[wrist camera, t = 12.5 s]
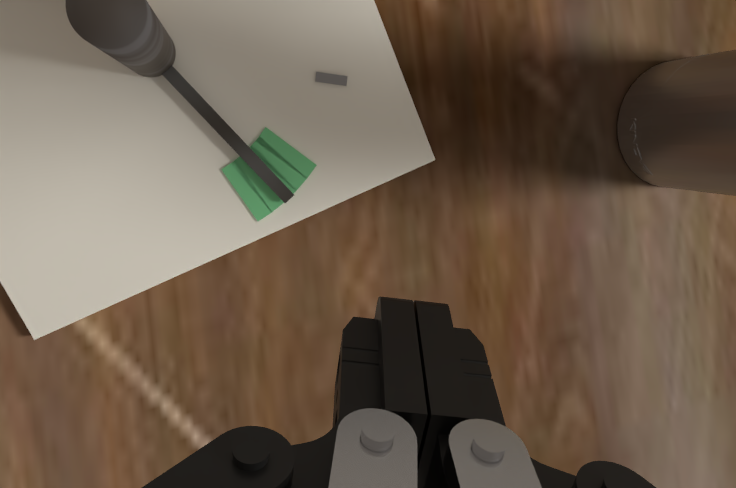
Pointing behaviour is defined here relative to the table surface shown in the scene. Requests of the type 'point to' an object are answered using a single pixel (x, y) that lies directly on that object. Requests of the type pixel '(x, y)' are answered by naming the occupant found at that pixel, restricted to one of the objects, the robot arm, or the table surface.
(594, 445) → the table surface
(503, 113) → the table surface
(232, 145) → the wooden board with post
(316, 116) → the thin white panel
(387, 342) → the robot arm
